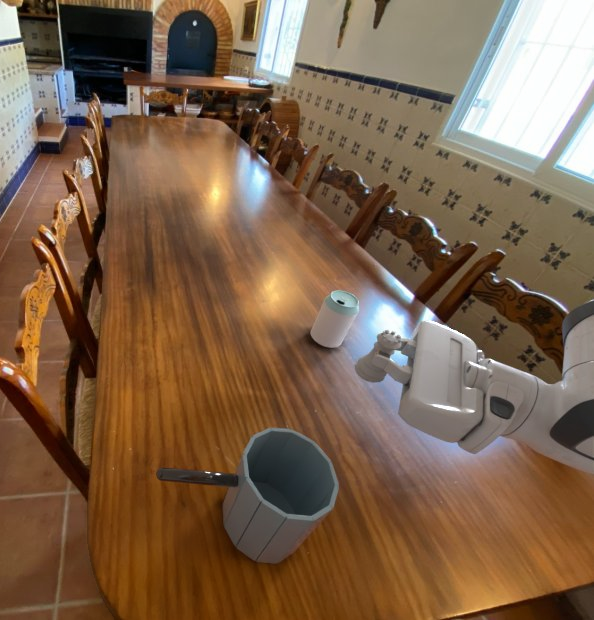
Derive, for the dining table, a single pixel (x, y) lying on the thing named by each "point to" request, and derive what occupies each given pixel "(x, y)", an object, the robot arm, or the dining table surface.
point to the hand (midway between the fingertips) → (376, 348)
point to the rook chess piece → (364, 363)
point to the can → (335, 318)
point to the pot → (271, 493)
